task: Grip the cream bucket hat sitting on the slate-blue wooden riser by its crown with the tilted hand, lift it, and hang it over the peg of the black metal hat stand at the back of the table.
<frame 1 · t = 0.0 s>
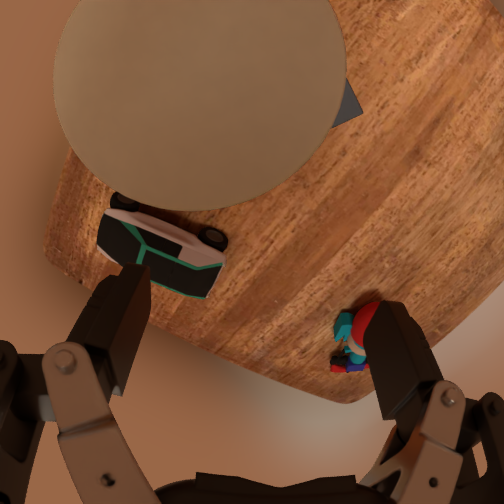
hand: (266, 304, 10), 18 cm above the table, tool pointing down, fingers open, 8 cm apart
hat: (226, 71, 12), point 12 cm above the table, touching riser
toy figure: (359, 332, 37), on the table
toy car: (166, 234, 30), on the table
riser: (240, 73, 22), on the table
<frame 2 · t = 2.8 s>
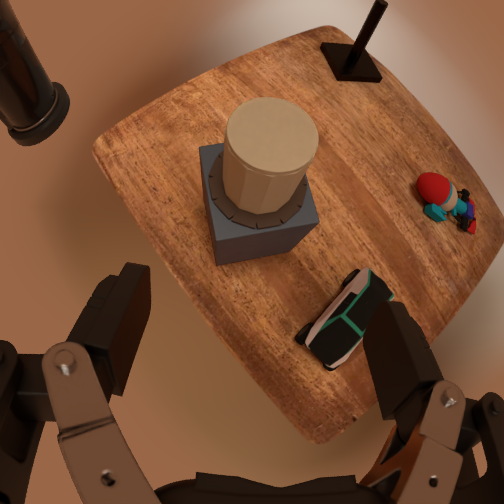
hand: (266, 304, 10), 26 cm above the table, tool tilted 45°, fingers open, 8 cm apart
hat: (258, 182, 27), point 12 cm above the table, touching riser
toy figure: (443, 205, 43), on the table
toy car: (340, 318, 37), on the table
hat stand: (349, 64, 47), on the table
riser: (245, 223, 38), on the table
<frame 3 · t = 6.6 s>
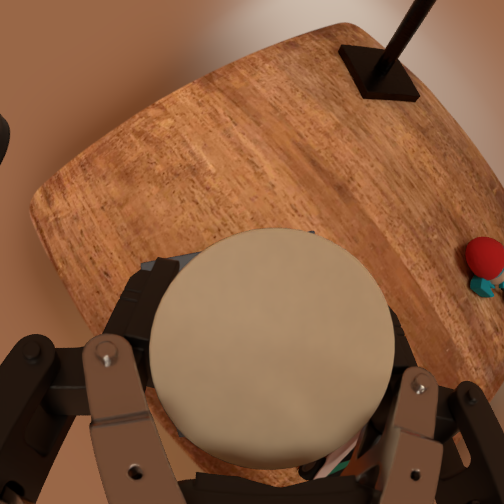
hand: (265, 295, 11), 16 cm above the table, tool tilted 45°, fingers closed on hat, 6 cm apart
hat: (248, 336, 15), point 12 cm above the table, touching gripper, riser
toy figure: (488, 271, 31), on the table
toy car: (356, 439, 25), on the table
hat stand: (377, 75, 35), on the table
riser: (234, 328, 26), on the table
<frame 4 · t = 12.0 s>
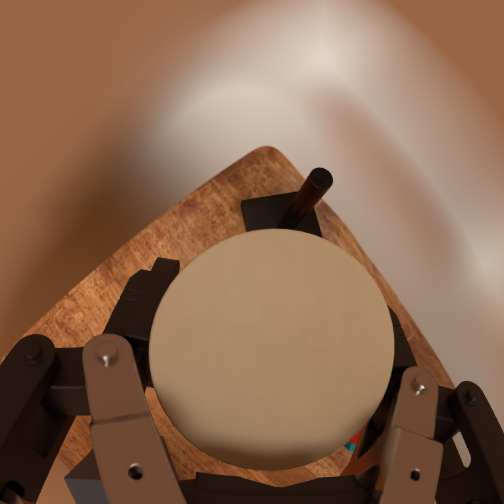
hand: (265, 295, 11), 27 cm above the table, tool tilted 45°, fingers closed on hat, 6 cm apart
hat: (247, 336, 15), point 23 cm above the table, touching gripper
hat stand: (282, 231, 40), on the table
riser: (141, 467, 31), on the table
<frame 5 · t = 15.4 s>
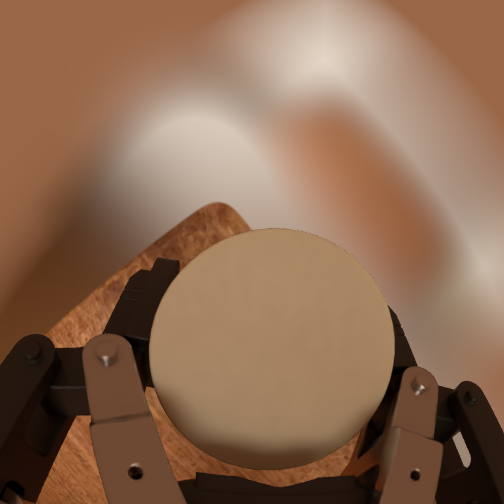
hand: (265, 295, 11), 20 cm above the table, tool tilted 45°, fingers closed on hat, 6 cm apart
hat: (248, 336, 15), point 15 cm above the table, touching gripper
when the fingers open (13 cm above the table, at t = 17.8 s): hat stays where it is, resting on hat stand.
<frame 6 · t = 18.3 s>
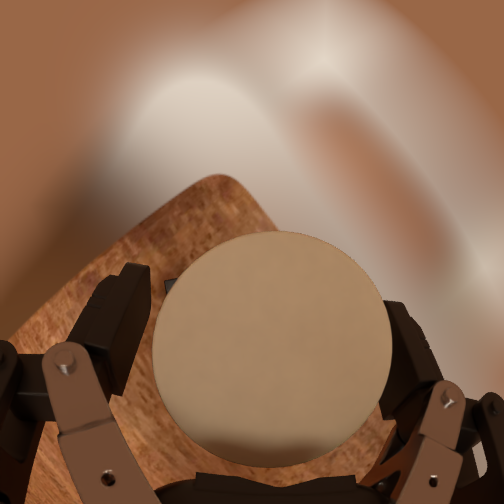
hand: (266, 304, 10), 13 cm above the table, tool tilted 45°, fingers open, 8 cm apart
hat: (248, 336, 15), point 8 cm above the table, touching hat stand
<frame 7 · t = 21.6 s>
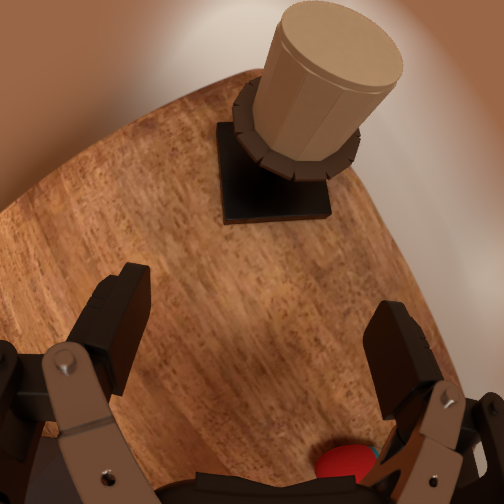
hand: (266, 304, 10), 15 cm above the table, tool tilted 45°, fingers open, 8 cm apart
hat: (298, 122, 19), point 8 cm above the table, touching hat stand
toy figure: (367, 461, 24), on the table
hat stand: (270, 172, 27), on the table
riser: (46, 473, 19), on the table
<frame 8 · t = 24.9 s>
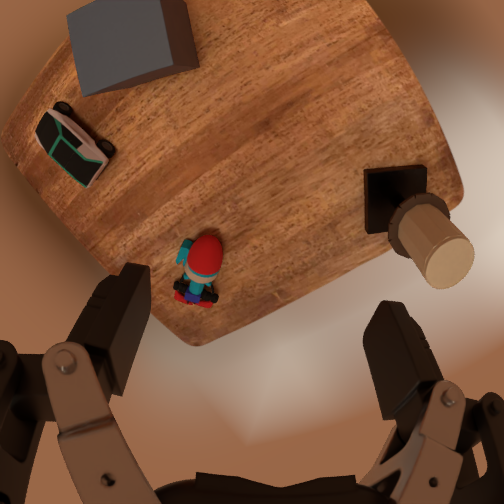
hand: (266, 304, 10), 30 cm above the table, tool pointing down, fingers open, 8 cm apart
hat: (419, 226, 32), point 8 cm above the table, touching hat stand
toy figure: (201, 266, 47), on the table
toy car: (80, 140, 36), on the table
hat stand: (394, 197, 40), on the table
riser: (156, 44, 29), on the table
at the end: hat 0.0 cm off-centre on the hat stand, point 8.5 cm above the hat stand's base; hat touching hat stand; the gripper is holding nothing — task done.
